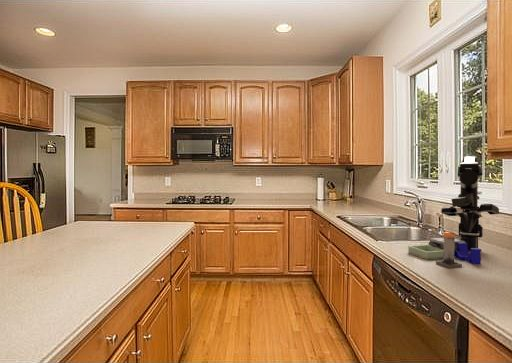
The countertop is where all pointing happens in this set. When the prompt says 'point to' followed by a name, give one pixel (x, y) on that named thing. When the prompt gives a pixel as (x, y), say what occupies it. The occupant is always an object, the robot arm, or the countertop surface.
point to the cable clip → (464, 254)
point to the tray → (426, 252)
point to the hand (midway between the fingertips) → (468, 232)
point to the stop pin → (449, 247)
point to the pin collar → (449, 265)
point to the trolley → (442, 243)
